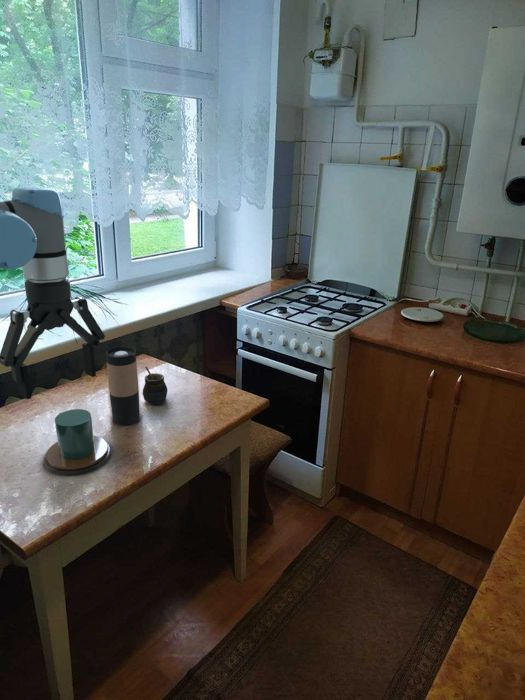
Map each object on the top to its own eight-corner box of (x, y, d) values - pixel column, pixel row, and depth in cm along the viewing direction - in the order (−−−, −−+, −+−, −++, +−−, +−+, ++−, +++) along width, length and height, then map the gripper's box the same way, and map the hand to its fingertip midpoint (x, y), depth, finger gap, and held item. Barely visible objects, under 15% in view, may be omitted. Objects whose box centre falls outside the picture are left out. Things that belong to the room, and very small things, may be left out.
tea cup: (119, 453, 119) (115, 418, 116) (63, 478, 110) (57, 440, 106) (90, 431, 128) (86, 397, 125) (35, 452, 119) (30, 416, 115)
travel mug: (107, 417, 137) (100, 350, 130) (131, 409, 142) (126, 344, 134) (120, 428, 132) (114, 359, 124) (145, 419, 137) (141, 352, 129)
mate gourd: (156, 409, 142) (154, 378, 138) (136, 402, 146) (134, 371, 142) (172, 400, 148) (171, 369, 144) (154, 393, 152) (152, 363, 148)
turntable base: (67, 483, 110) (67, 480, 109) (31, 458, 118) (31, 455, 118) (123, 454, 121) (122, 451, 120) (86, 433, 129) (86, 430, 129)
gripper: (95, 265, 100) (103, 361, 108) (-37, 285, 82) (-16, 400, 90) (118, 271, 96) (124, 371, 104) (-16, 294, 78) (4, 414, 85)
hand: (59, 385), depth 97 cm, fingers open, 13 cm apart
